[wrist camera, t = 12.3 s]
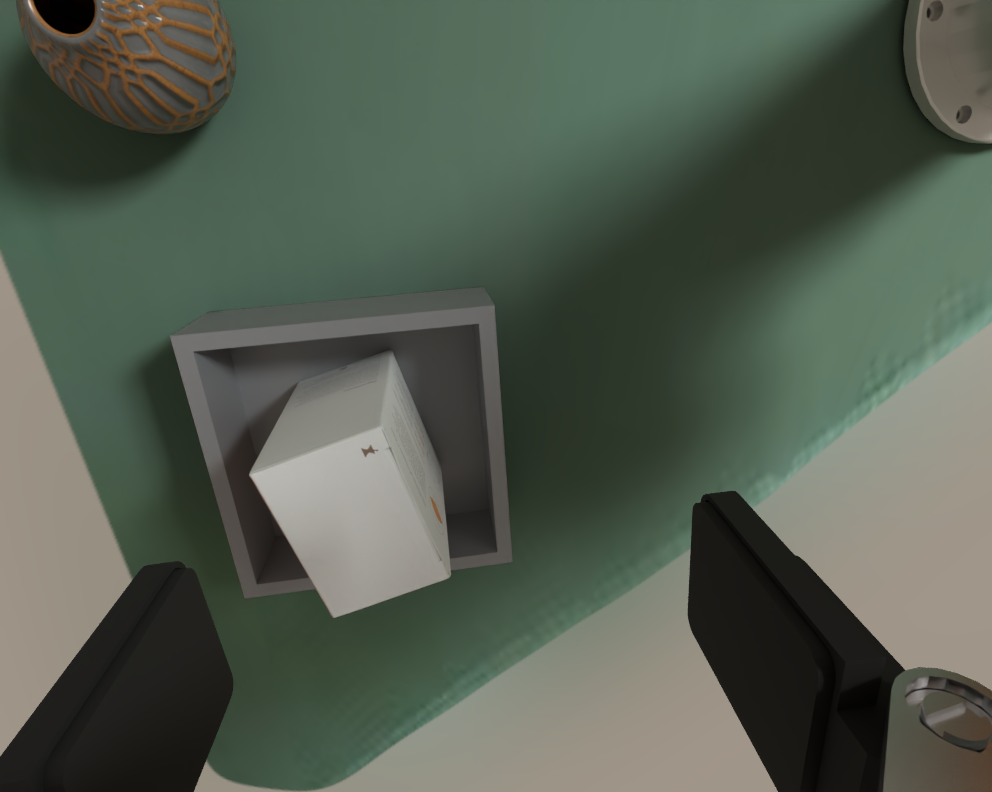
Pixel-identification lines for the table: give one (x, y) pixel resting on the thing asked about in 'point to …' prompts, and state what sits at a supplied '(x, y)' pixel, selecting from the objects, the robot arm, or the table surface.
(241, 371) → the bin
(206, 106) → the vase
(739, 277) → the table surface
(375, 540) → the small box
